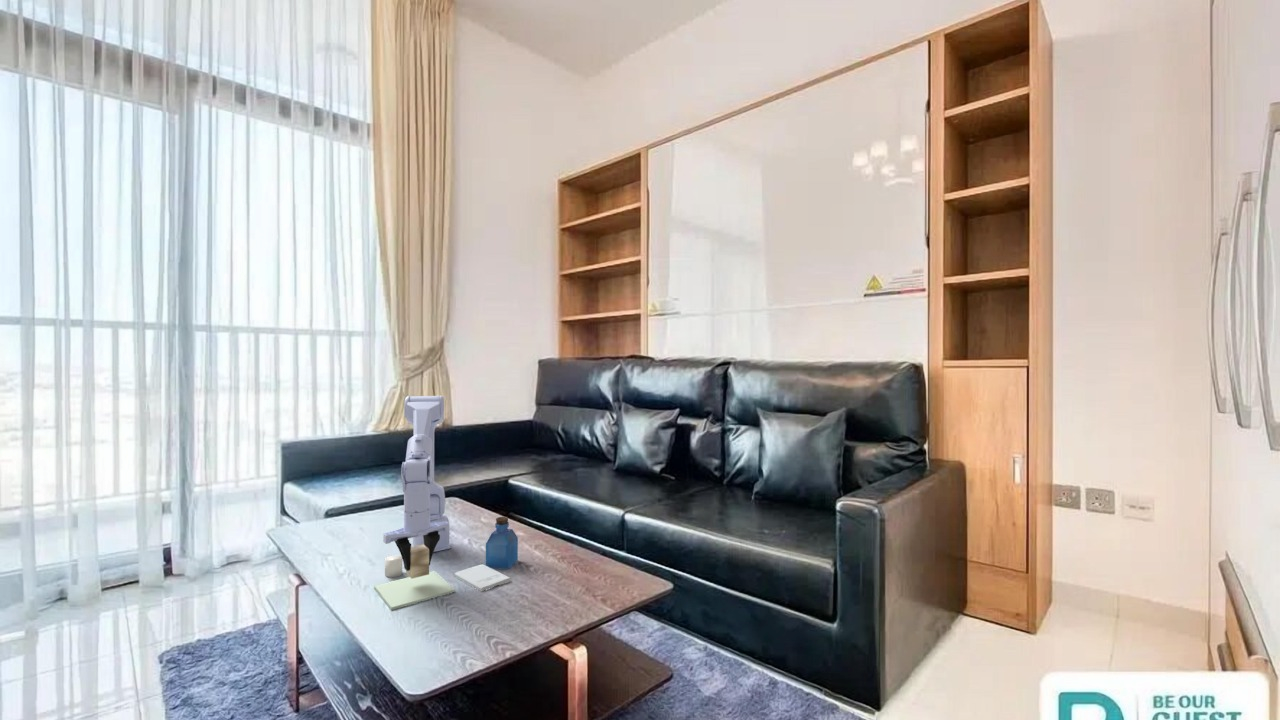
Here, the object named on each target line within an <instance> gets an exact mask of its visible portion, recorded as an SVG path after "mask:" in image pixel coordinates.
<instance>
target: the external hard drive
mask: <svg viewBox="0 0 1280 720" xmlns="http://www.w3.org/2000/svg"><path fill="white" fill-rule="evenodd" d="M453 577H454V578H455V577H456V579H457V580H459V581H461V582H462V581H463V583H464V584H466V585H468V586H470V587H471V586H472V588H473V587H474V588H473V589H475V588H476V589H475V590H477V589H478V590H477V591H478V592H480V591H483V592H485V591H487V590H486V589H488V590H490V589H489V588H491V589H493V588H492V587H494V586H495V587H498V586H497V585H499V586H502V585H504V584H503V583H505V584H506V583H510V582H512V578H511V577H509V576H507V575H505V574H504V573H501V572H499V571H498V570H497V569H496V570H495V568H490V567H488V566H486V564H484V563H482V564H481V563H480V564H478V565H475V566H472V567H468V568H465V569H462V570H459V571H456V572H455V573H454V575H453ZM501 584H502V585H501ZM495 587H494V588H495ZM484 590H485V591H484Z"/></svg>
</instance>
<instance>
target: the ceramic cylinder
mask: <svg viewBox="0 0 1280 720" xmlns="http://www.w3.org/2000/svg"><path fill="white" fill-rule="evenodd" d="M402 574H403V559H402V556H401V554H400V555H399V554H395V555H390V556H386V557H385V559H384V576H385V577H387V578H396V577H398V576H402Z"/></svg>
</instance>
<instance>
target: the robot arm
mask: <svg viewBox="0 0 1280 720" xmlns="http://www.w3.org/2000/svg"><path fill="white" fill-rule="evenodd" d="M444 416H445V398H444V396H443V395H420V396H419V395H414V396H413V395H412V396H410V395H407V396H406V397H405V399H404V417H405V419H406V421H407V423H408V424H409V425H413V427H412V428H413V431H412V432H413V436H411V437H410V438H409V439H408V440H407V446H406V452H405V453H406V454H405V461H402V464H401V470H400V471H401V474H400V475H401V482H402V492H403V515H404V516H403V527H402V528H398V529H395V530H392V531H389V532H384V533H383V535H382V536H383V544H386V545H387V544H391V543H392V542H394V543H395V544H396V547H397V549H398V551H399V553H400V556H402V564H403V566H404V567H403V568H404V570H405V571H406V570H407V571H409V570H410V551H411V547H414V546H418V545H423V544H424V545H425V546H426V547H427V548H429V566H431V563H432V557H433V555H434V553H435V552H441V551H445V550H448V549H451V546H450V521H449V518H448V516H447V515H446V514H445V512H446V494H445V489H444V487H443V485H440V484H439V483H438V482H436V481H435V430H436V428H437V425H441V424H442V423H443V422H444ZM410 539H412V543H411V542H410Z"/></svg>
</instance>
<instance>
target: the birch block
mask: <svg viewBox="0 0 1280 720" xmlns="http://www.w3.org/2000/svg"><path fill="white" fill-rule="evenodd" d="M405 571H406V572H405V574H406V575H407V576H408V577H410V578H411V579H413V578H417V577H420V576H424V575H428V574H429V572H430V565H429V548H427V547H426V546H425V545H424V544H423V545H418V546H414V547H411V551H410V570H409V571H407V570H406V569H405Z"/></svg>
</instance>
